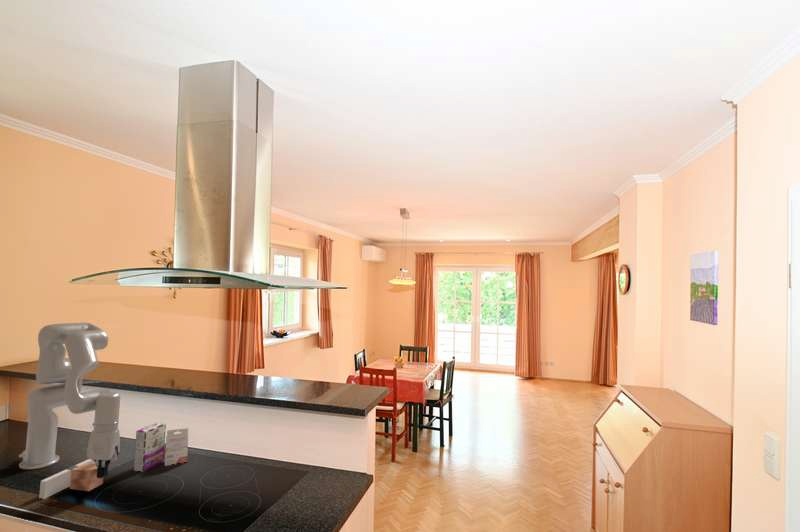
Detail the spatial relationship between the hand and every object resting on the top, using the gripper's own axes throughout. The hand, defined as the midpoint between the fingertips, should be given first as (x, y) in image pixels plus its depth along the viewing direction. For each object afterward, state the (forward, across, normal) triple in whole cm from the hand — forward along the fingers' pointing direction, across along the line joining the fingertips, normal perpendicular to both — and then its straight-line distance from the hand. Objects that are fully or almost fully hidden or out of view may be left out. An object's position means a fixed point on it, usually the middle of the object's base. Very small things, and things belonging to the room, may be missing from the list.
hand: (102, 476), depth 152 cm
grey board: (+4, -13, 0) cm, 14 cm away
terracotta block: (+4, -6, 0) cm, 7 cm away
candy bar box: (+4, +3, +20) cm, 21 cm away
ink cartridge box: (+4, +11, +26) cm, 29 cm away
